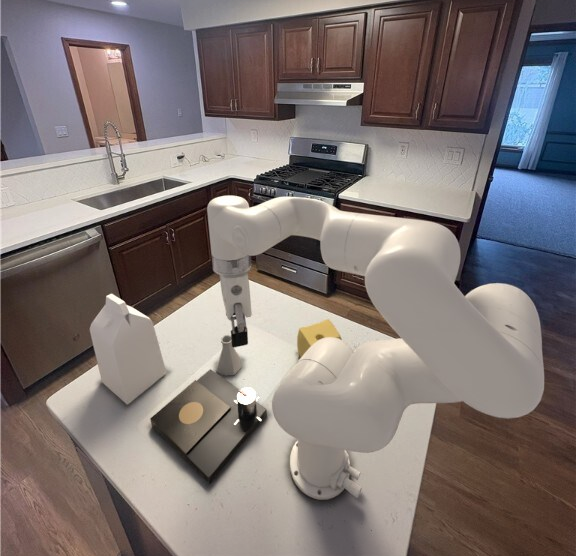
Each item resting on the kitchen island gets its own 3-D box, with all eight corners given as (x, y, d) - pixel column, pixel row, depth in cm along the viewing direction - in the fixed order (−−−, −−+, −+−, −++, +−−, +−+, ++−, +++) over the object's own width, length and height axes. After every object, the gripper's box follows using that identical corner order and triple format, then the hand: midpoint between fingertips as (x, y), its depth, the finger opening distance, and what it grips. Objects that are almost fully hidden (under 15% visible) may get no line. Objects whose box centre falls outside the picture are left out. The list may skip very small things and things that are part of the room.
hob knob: (260, 408, 75) (259, 392, 73) (247, 422, 72) (246, 406, 70) (246, 398, 77) (245, 383, 75) (234, 412, 74) (232, 396, 72)
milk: (166, 373, 87) (151, 295, 76) (127, 404, 78) (104, 321, 68) (140, 354, 93) (124, 280, 83) (101, 381, 84) (77, 302, 74)
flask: (236, 378, 85) (234, 350, 81) (211, 374, 86) (208, 346, 83) (245, 358, 92) (243, 331, 88) (222, 354, 93) (219, 327, 89)
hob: (272, 412, 76) (272, 406, 75) (212, 486, 62) (211, 480, 61) (214, 371, 87) (213, 365, 87) (151, 425, 73) (150, 419, 72)
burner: (230, 408, 75) (230, 407, 75) (186, 455, 65) (185, 453, 65) (195, 381, 82) (195, 379, 82) (150, 420, 72) (150, 418, 72)
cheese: (345, 368, 89) (347, 341, 85) (310, 380, 85) (312, 352, 81) (327, 343, 97) (329, 317, 94) (295, 353, 94) (296, 326, 90)
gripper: (260, 280, 54) (262, 355, 61) (243, 238, 69) (246, 302, 76) (216, 287, 52) (223, 363, 59) (208, 242, 67) (215, 307, 74)
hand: (236, 329), depth 67 cm, fingers open, 9 cm apart
